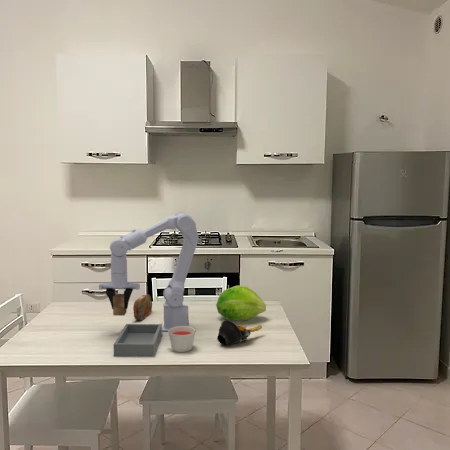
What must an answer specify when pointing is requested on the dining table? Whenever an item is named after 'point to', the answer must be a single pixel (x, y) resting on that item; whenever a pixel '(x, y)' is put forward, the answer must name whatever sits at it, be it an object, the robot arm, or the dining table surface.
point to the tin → (142, 307)
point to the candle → (181, 338)
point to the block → (119, 305)
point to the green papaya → (240, 303)
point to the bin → (138, 340)
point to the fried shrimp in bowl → (234, 333)
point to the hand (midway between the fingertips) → (119, 308)
